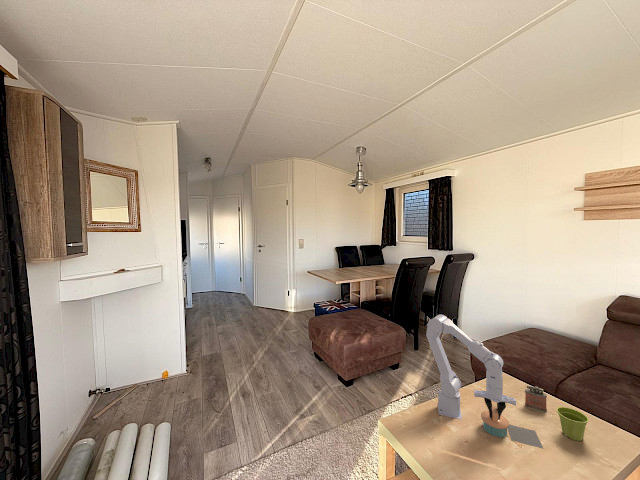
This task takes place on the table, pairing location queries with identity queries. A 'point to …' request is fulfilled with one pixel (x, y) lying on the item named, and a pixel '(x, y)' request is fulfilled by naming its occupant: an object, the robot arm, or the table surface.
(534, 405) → the lighter
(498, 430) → the bowl
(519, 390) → the table surface
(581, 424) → the plant pot
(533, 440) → the mat
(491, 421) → the lid
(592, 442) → the table surface
